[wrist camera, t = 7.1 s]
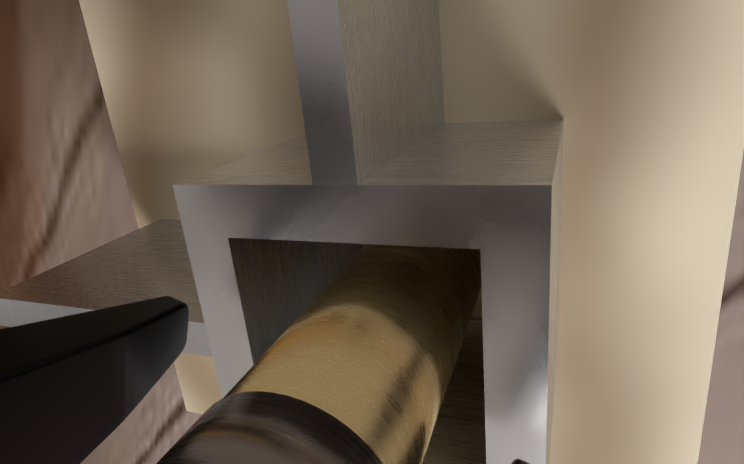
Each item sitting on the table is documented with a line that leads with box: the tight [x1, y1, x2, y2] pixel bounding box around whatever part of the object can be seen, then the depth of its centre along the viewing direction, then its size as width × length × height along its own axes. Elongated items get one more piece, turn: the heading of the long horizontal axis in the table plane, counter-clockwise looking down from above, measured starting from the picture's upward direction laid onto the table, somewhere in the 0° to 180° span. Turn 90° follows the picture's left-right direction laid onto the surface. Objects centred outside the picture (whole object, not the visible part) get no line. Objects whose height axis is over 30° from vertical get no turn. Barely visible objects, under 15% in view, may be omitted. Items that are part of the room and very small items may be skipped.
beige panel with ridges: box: [0, 0, 744, 464], centre depth 13 cm, size 18×20×8 cm
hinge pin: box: [157, 244, 481, 464], centre depth 10 cm, size 3×3×10 cm
